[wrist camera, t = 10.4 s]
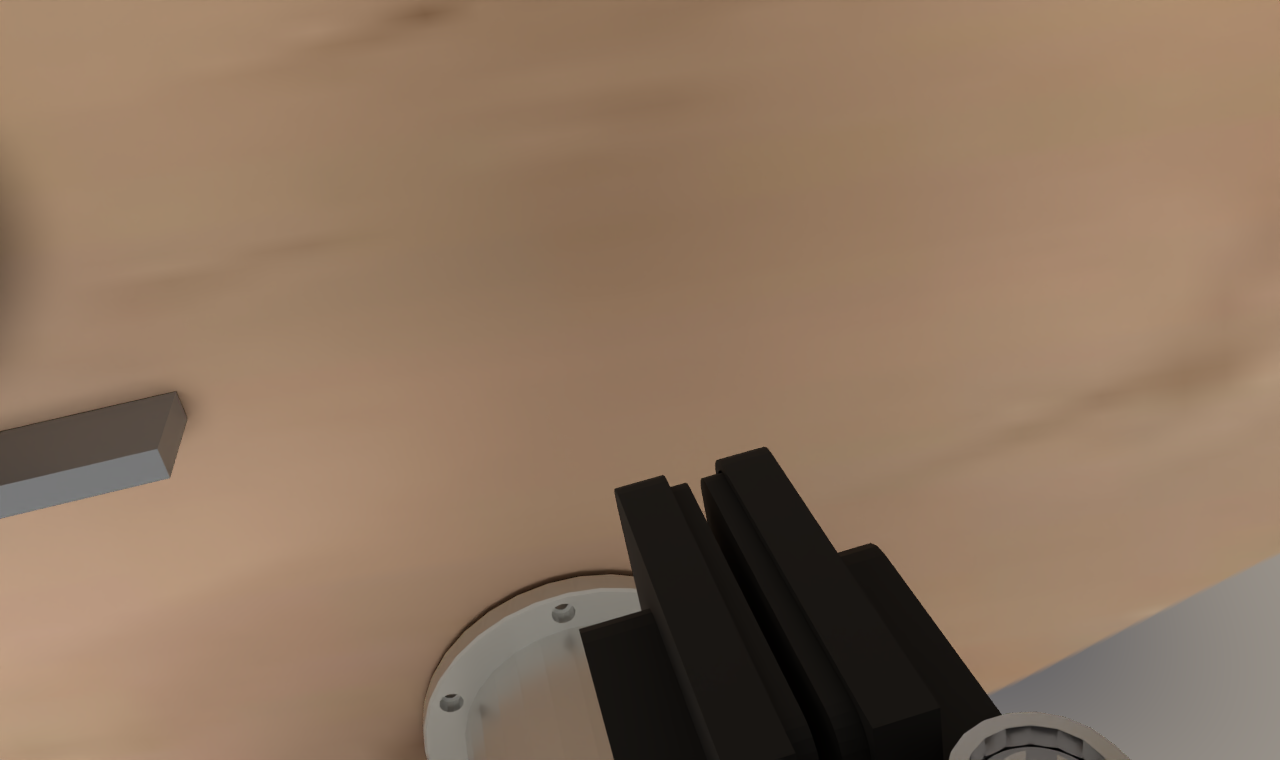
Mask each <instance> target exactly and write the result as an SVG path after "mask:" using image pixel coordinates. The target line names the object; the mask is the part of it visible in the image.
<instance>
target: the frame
mask: <svg viewBox="0 0 1280 760" xmlns="http://www.w3.org/2000/svg"><path fill="white" fill-rule="evenodd" d="M186 422H187V417H186V414H185V412H184V409H183V407H182V405H181V402H180V400H179V397H178V395H177V392H172V393H168V394H163V395H159V396H154V397H150V398H146V399H141V400H137V401H133V402H128V403H124V404H120V405H115V406H111V407H107V408H102V409H98V410H93V411H89V412H85V413H80V414H76V415H72V416H67V417H63V418H59V419H54V420H50V421H46V422H41V423H37V424H32V425H28V426H24V427H19V428H15V429H11V430H6V431H2V432H0V519H1V518H5V517H9V516H13V515H17V514H22V513H26V512H30V511H34V510H38V509H43V508H47V507H51V506H55V505H59V504H63V503H68V502H72V501H76V500H80V499H84V498H88V497H93V496H97V495H101V494H105V493H109V492H114V491H118V490H122V489H126V488H130V487H134V486H139V485H143V484H147V483H151V482H155V481H160V480H164V479H168V478H170V477H171V473H172V470H173V466H174V463H175V459H176V456H177V453H178V449H179V446H180V442H181V439H182V436H183V432H184V429H185V425H186Z"/></svg>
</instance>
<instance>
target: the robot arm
mask: <svg viewBox="0 0 1280 760" xmlns="http://www.w3.org/2000/svg"><path fill="white" fill-rule="evenodd" d="M715 470H716V474H715V475H712V476H708V477H705V478H701V490H702V496H703V501H704V507H705V512H706V518H707V521H706V519H705V517H704V515H703V513H702V511H701V509H700V507H699V505H698V503H697V501H696V499H695V497H694V495H693V493H692V491H691V489H690V487H689V486H688V484H687V483H683V484H680V485H676V486H673V487H670V486H669V484H668V481H667V480H666V478H665V476H663V475H662V476H658V477H655V478H651V479H647V480H644V481H640V482H637V483H633V484H630V485H626V486H622V487H619V488H615V498H616V502H617V507H618V511H619V516H620V520H621V524H622V529H623V533H624V537H625V542H626V546H627V550H628V555H629V559H630V564H631V568H632V572H633V576H624V575H614V574H608V575H594V576H579V577H575V578H571V579H566V580H562V581H557V582H553V583H548V584H545V585H543V586H540V587H538V588H535V589H533V590H530V591H527V592H525V593H522V594H520V595H517V596H515V597H514V598H512V599H510V600H508V601H507V602H505V603H503V604H501V605H500V606H498V607H496V608H494V609H493V610H491V611H489V612H488V613H487V614H485V615H484V616H483V617H482V618H480V619H479V620H478V621H477V622H476V623H474V624H473V625H472V626H471V627H469V628H468V629H467V630H466V631H465V632H464V633H463V634H462V635H461V636H460V637H459V638H458V640H457V641H456V642H455V643H454V644H453V645H452V646H451V648H450V649H449V650H448V651H447V652H446V653H445V655H444V657H443V659H442V660H441V662H440V664H439V665H438V667H437V669H436V671H435V672H434V674H433V676H432V678H431V681H430V684H429V687H428V691H427V694H426V697H425V700H424V710H423V735H424V745H425V754H426V757H427V759H428V760H1130V758H1129V757H1127V756H1126V755H1125V754H1124V753H1123V752H1122V751H1121V750H1120V749H1119V748H1118V747H1117V746H1116V745H1114V744H1113V743H1112V742H1110V741H1109V740H1108V739H1106V738H1105V737H1103V736H1102V735H1100V734H1099V733H1098V732H1096V731H1095V730H1093V729H1092V728H1090V727H1088V726H1086V725H1083V724H1081V723H1078V722H1075V721H1073V720H1071V719H1068V718H1066V717H1063V716H1057V715H1052V714H1046V713H1039V712H1022V713H1021V712H1020V713H1007V714H1003V715H1002V714H1001V713H1000V712H999V710H998V709H997V707H996V706H995V705H994V704H993V702H992V701H991V699H990V698H989V697H988V695H987V694H986V692H985V691H984V690H983V688H982V687H981V686H980V684H979V683H978V681H977V680H976V679H975V677H974V676H973V675H972V673H971V672H970V670H969V669H968V668H967V666H966V665H965V664H964V662H963V661H962V659H961V658H960V657H959V655H958V654H957V653H956V651H955V650H954V649H953V647H952V646H951V644H950V643H949V642H948V640H947V639H946V638H945V636H944V635H943V633H942V632H941V631H940V629H939V628H938V627H937V625H936V624H935V622H934V621H933V620H932V618H931V617H930V616H929V614H928V613H927V612H926V610H925V609H924V607H923V606H922V605H921V603H920V602H919V601H918V599H917V598H916V596H915V595H914V594H913V592H912V591H911V590H910V588H909V587H908V585H907V584H906V583H905V581H904V580H903V579H902V577H901V576H900V575H899V573H898V572H897V570H896V569H895V568H894V566H893V565H892V564H891V562H890V561H889V559H888V558H887V557H886V555H885V554H884V553H883V552H882V551H881V550H880V549H879V547H878V546H876V545H874V544H872V543H869V544H866V545H863V546H859V547H856V548H852V549H849V550H846V551H842V552H839V553H837V551H836V550H835V548H834V547H833V545H832V544H831V542H830V541H829V539H828V538H827V536H826V535H825V533H824V532H823V530H822V529H821V527H820V526H819V524H818V523H817V521H816V520H815V518H814V517H813V515H812V514H811V512H810V511H809V509H808V508H807V506H806V505H805V503H804V502H803V500H802V499H801V497H800V496H799V494H798V493H797V491H796V490H795V488H794V487H793V485H792V484H791V482H790V481H789V479H788V478H787V476H786V474H785V473H784V471H783V470H782V468H781V467H780V465H779V464H778V462H777V461H776V459H775V458H774V456H773V455H772V453H771V452H770V451H769V450H768V448H766V447H762V448H758V449H754V450H751V451H747V452H744V453H740V454H737V455H733V456H730V457H726V458H722V459H719V460H717V461H716V463H715Z"/></svg>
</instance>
